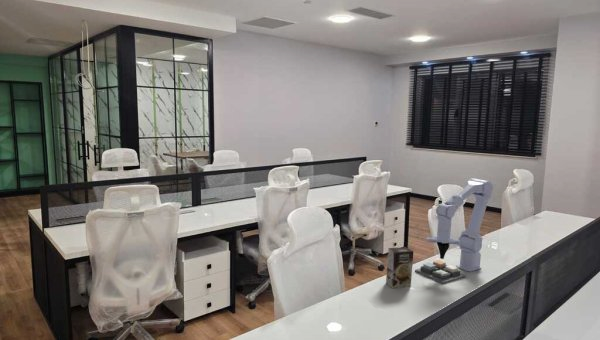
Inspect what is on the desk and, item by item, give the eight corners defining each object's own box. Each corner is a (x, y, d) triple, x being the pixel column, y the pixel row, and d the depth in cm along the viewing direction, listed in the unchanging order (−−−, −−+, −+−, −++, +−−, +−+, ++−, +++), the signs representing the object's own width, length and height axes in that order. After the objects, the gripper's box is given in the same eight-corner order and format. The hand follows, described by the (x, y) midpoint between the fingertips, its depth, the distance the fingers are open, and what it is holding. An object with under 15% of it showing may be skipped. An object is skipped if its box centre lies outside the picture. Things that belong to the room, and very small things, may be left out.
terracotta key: (438, 264, 198) (438, 260, 198) (445, 266, 195) (445, 262, 195) (433, 265, 196) (433, 261, 196) (439, 268, 193) (440, 264, 192)
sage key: (440, 273, 189) (440, 269, 189) (447, 276, 185) (448, 272, 185) (434, 275, 187) (435, 271, 186) (441, 278, 183) (442, 274, 183)
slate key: (428, 266, 195) (429, 262, 194) (435, 269, 191) (435, 265, 191) (423, 268, 192) (423, 264, 192) (429, 271, 189) (430, 266, 189)
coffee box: (392, 288, 174) (394, 252, 172) (385, 282, 180) (387, 247, 178) (411, 287, 176) (414, 251, 174) (403, 280, 183) (406, 246, 180)
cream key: (450, 268, 192) (451, 264, 192) (457, 271, 189) (458, 267, 189) (445, 270, 190) (445, 266, 190) (452, 273, 187) (452, 269, 187)
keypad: (437, 265, 202) (438, 260, 202) (465, 277, 189) (466, 271, 188) (415, 271, 194) (415, 266, 193) (442, 284, 180) (443, 278, 180)
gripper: (428, 231, 185) (426, 259, 187) (462, 233, 182) (459, 262, 184) (427, 226, 192) (425, 254, 194) (459, 229, 189) (457, 257, 191)
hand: (441, 258), depth 189 cm, fingers closed
